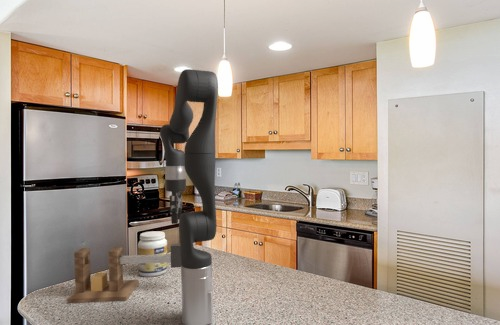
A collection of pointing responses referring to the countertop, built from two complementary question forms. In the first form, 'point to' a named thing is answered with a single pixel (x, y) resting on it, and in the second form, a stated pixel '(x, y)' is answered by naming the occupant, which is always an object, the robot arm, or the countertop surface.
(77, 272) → the wooden shaft stand
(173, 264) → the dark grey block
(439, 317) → the countertop surface
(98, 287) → the ochre spacer
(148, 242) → the supplement tub
